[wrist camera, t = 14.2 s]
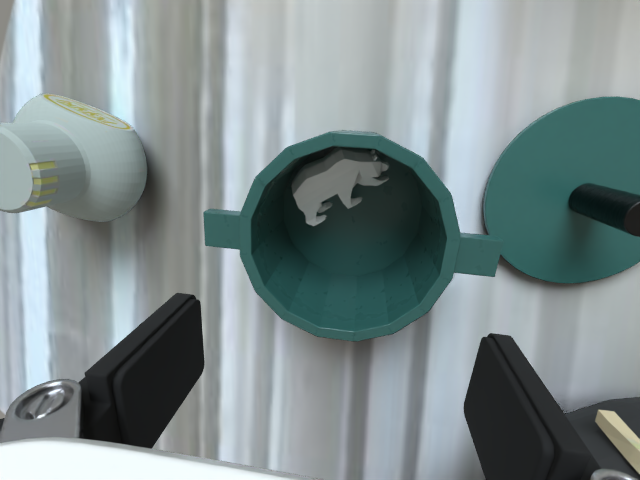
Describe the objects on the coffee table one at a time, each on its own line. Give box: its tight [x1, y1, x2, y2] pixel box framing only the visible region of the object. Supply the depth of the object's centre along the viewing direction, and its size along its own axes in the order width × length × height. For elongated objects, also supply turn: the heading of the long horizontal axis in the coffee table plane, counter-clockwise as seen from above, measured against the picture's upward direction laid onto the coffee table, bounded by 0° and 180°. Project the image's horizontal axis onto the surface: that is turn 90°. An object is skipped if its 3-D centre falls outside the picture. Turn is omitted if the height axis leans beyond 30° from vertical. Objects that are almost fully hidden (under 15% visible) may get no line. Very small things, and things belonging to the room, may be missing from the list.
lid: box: [483, 97, 640, 283], centre depth 23 cm, size 15×15×7 cm
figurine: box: [291, 147, 389, 226], centre depth 26 cm, size 2×8×5 cm
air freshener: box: [0, 93, 147, 222], centre depth 26 cm, size 11×8×10 cm
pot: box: [204, 130, 504, 342], centre depth 25 cm, size 14×19×10 cm
